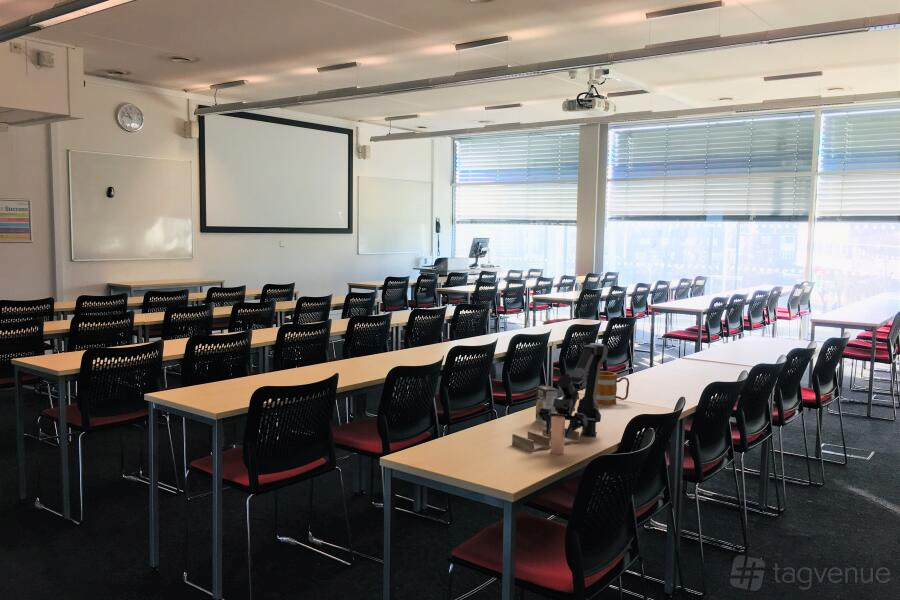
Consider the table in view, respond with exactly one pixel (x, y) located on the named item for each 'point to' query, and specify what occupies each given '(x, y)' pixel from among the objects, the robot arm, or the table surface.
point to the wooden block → (557, 434)
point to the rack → (540, 440)
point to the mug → (609, 388)
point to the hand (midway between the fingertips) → (556, 435)
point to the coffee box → (545, 400)
